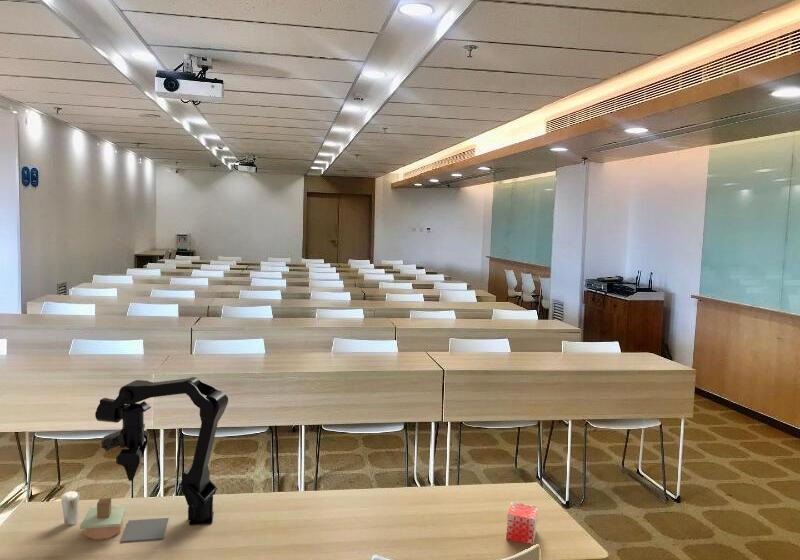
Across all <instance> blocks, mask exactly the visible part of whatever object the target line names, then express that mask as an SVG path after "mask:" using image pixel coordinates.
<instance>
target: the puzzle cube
mask: <svg viewBox="0 0 800 560" xmlns="http://www.w3.org/2000/svg"><path fill="white" fill-rule="evenodd" d="M538 510H539V506H535V505H530V504H525V503H519V502H516V501H515V502H514V501H511V503H510V506H509V510H508V513H507V523H506V524H507V525H506V537H505V539H506V540H511V541H515V542H519V543H524V544H529V545H534V541H535V538H536V533H537V525H538V513H539V511H538Z"/></svg>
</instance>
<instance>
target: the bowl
mask: <svg viewBox="0 0 800 560" xmlns="http://www.w3.org/2000/svg"><path fill="white" fill-rule="evenodd" d="M123 525H124V518H123V519H122V522H121V524H120V526H116V527H102V528H87V529H85V536H87V537H89V538H90V539H92V540H96V541H97V540H98V541H101V540H107V539H110V538H113V537H115V536H117V535H118V534H119V533H121V531H122V530H123V529H122V528H123Z"/></svg>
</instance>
